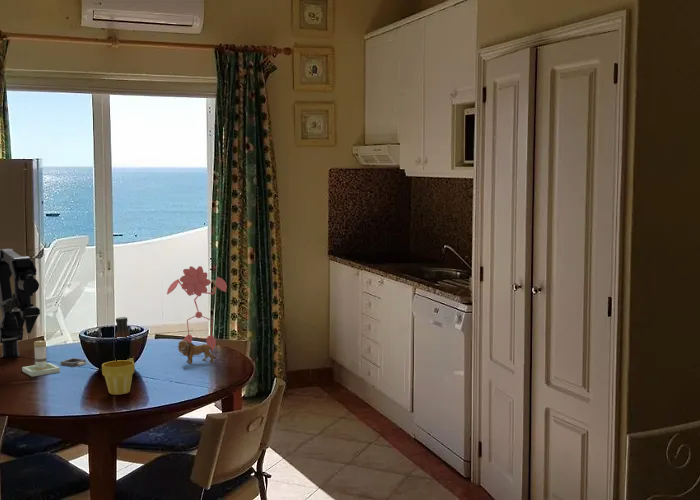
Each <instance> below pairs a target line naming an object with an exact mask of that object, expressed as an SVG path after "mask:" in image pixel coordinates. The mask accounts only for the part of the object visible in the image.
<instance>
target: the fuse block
mask: <svg viewBox="0 0 700 500" xmlns="http://www.w3.org/2000/svg"><path fill="white" fill-rule="evenodd" d="M88 364H89V362H87V361H86V359H84V358H75V357H72V358H68V359H65V360H61V361H60V363H58V364H57V366H64V367H65V366H66V367H71V368H72V367H73V368H77V367H80V366H83V365H88Z"/></svg>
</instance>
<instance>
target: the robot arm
mask: <svg viewBox="0 0 700 500" xmlns="http://www.w3.org/2000/svg"><path fill="white" fill-rule="evenodd" d="M37 272H38V271H37V268H36V265H35V263H34V260H33V259H31V257H30V256H27V255H20V254H18V253H17V252H16V251H14V249H13V248H0V311H1V316H2V317H1V319H0V344H1V346H2V347H1V348H2V353H1V356H0V358H1V359H9V358H19V356H20V352H19V343H18V342H19V341H23V338H24V330H26V333H27V334H31V333H32V330H33V328H34V326H35V323H36V321H37V319H38V317H39V316H40V315H41V309H40V308H39V307H37V306H34V303H32V297H33V295H34V294H35V293H36V292H37V291H38V290H39V288H40V283H39V281H38V279H36V278H34V276H37ZM12 276H13V289H14V292H13V291H12V284H11V277H12ZM24 325H25V329H24Z"/></svg>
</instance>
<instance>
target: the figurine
mask: <svg viewBox="0 0 700 500" xmlns="http://www.w3.org/2000/svg"><path fill="white" fill-rule="evenodd" d="M182 271H183V274H184V275H183V276H182V275H181V277H180V278H179V279H176V280H174V281H173V282H172V283H171V284H170V285H169V287H168V288H167V291H166V294H167V295H169V294H171V293H172V292H173V291H174V290H175V289H176V288H177V287H178V284H179V285H180V287H181V289H182V290H184V291H185V293H186V294H187V295H188V297H190V296H193V295H195V296H196V297H195V298H194V299H193V303H194V304H195V308H196V310H197V311H196V312H195V315H193V316H192V317H190V318H188V319H186V325H187V333H188V334H187V335H186V336H185V337H184V338H183V340H185V341H188V342H190V343H192V341H193V335H192V334H190V331H189V330H190V329H189V320H191V319H193V318H197V319H201V318H204V319H206V320H209V321H211V328H210V334H209V335H208V336H207V337H206V344H207V345H209V346H210V347H211V348H212V351H214V350H215V348H216V346H217V340H216V339H215V337H214V336H213V335H212V333H213V325H214V324H213V323H214V320H213V319H211V318H208V317H205V316H203V313H202V312H201V311H199V308H198V304H197V302H196V300H197V299H198V297H201V296H202V294H208V295H215V294H216V290H217V288H218V289H219V290H221V291H222V292H225V293H227V288H228V286H227V283H226V281H225V279H223V278H222V277H219V276H217V277H216V279H215V287H214V290H213V292H208V288H207V286H209V285H211V283H212V282H211V280H210V279H209V278H208V272H206V271H205V272H204V269H203V267H202V265H199V266H198V267H197V268H196V267H194V266H189V268H184V269H183V270H182ZM176 348H178V345H177V346H176ZM213 355H214V356H215V355H216V353H215V354H214V353H213ZM203 357H205V355H204V354H203Z"/></svg>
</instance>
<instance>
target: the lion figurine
mask: <svg viewBox="0 0 700 500" xmlns="http://www.w3.org/2000/svg"><path fill="white" fill-rule="evenodd" d="M177 346H178V347H177V349H178V352H179V353H180V354H181V355H182V356H184V357H187V360H186V363H188V364H189V365H192V364H193V361H194V360H193V357H194V356H200V355H201V354H203V356H204V355H205V356H204V358H203V359H202V361H203V362H204V361H206V360H207V359H208V357H209V358H210V359H209V362H210V363H213V362H214V360H217V357H216V356H215V355H213V354H214V352H213V351H214V350H213V351H212V348H211V347H210V346H209V345H207V343H206V344H200V345H199V344H198V345H195V344H194V343H192V342H191V343H190V342H188V341H185V340H184V339H182V340H180V341H179V342H178V345H177Z"/></svg>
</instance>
